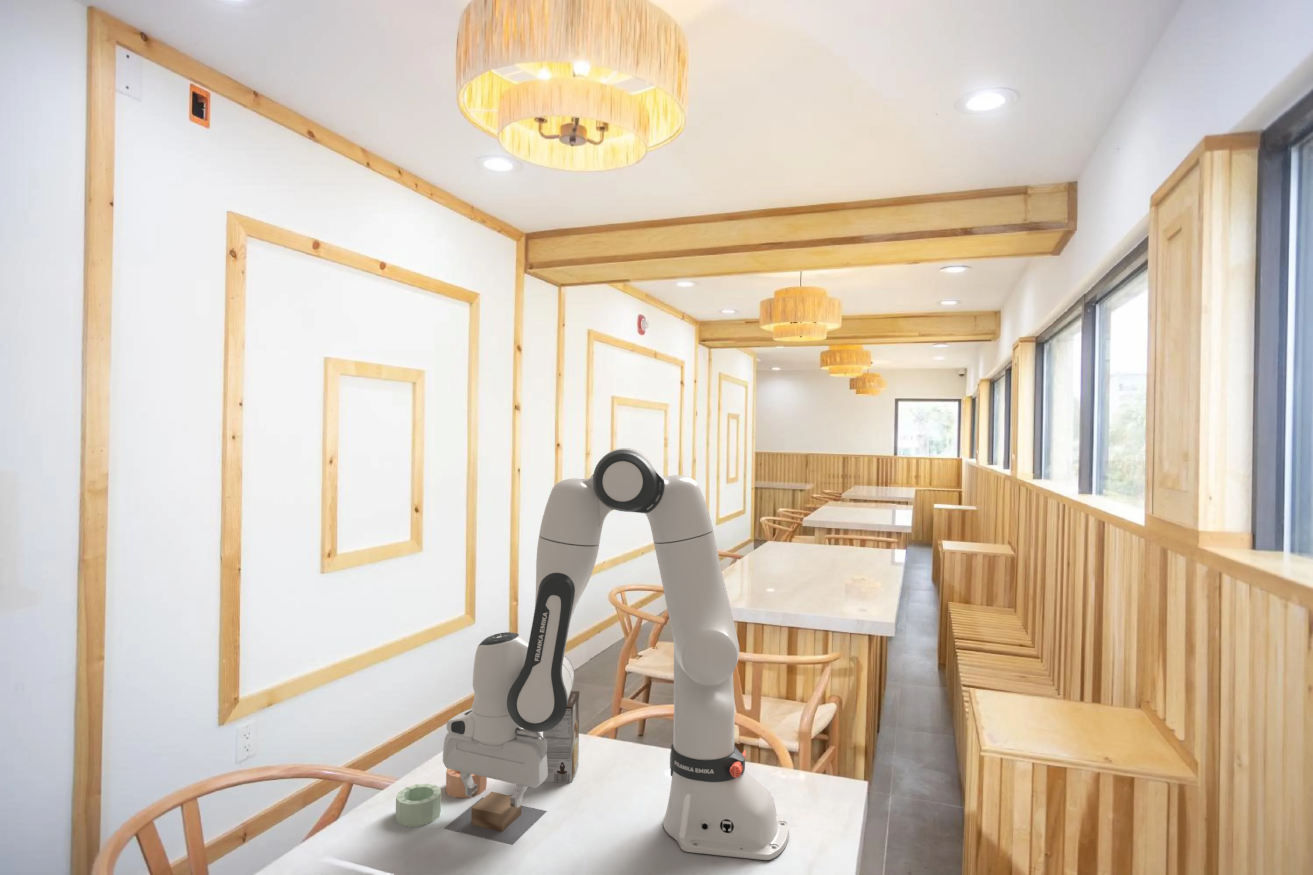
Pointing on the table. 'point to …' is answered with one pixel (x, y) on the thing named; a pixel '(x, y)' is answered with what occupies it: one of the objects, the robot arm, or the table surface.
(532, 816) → the mat
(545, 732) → the coffee box
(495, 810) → the cardboard box
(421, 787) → the bowl sage
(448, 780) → the bowl terracotta
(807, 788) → the table surface
